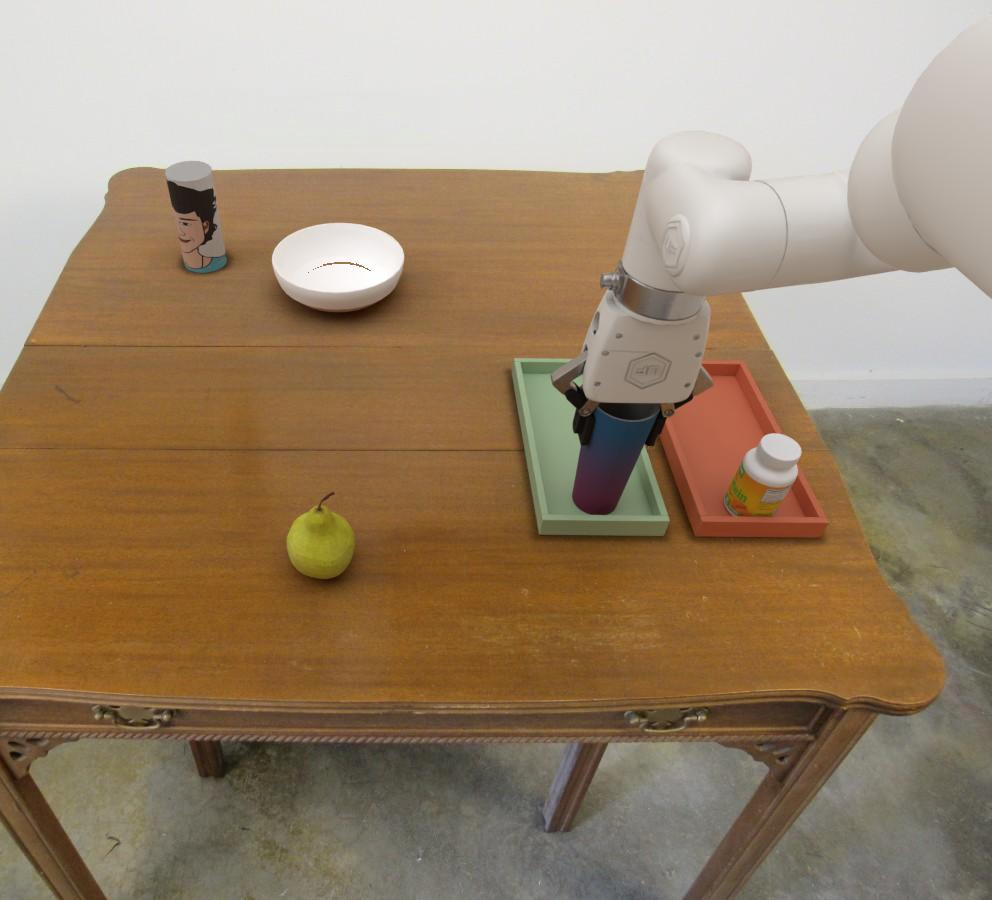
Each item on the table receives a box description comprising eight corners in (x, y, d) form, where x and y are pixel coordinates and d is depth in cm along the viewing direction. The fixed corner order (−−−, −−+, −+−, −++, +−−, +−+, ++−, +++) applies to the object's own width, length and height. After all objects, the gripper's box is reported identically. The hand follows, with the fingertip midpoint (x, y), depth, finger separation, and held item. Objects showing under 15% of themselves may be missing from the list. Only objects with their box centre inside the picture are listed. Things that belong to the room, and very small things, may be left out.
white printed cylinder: (186, 251, 121) (168, 161, 110) (228, 249, 121) (213, 160, 110) (181, 273, 116) (161, 181, 105) (225, 272, 116) (209, 180, 106)
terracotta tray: (819, 537, 80) (829, 522, 79) (694, 536, 80) (702, 521, 78) (737, 375, 100) (744, 360, 98) (637, 374, 100) (641, 359, 98)
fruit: (277, 578, 76) (264, 502, 67) (309, 530, 80) (300, 453, 72) (337, 601, 74) (331, 526, 66) (366, 551, 78) (364, 474, 70)
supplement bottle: (714, 491, 84) (744, 430, 77) (759, 487, 85) (793, 426, 78) (735, 528, 80) (768, 467, 74) (782, 524, 81) (819, 463, 74)
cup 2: (563, 474, 86) (588, 373, 75) (622, 480, 85) (656, 379, 75) (564, 518, 81) (592, 417, 70) (627, 525, 80) (665, 424, 70)
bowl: (374, 341, 104) (373, 305, 100) (252, 310, 109) (246, 274, 105) (421, 272, 117) (423, 237, 113) (310, 247, 122) (308, 212, 117)
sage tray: (663, 536, 80) (670, 521, 78) (538, 535, 80) (542, 519, 78) (611, 374, 100) (616, 358, 98) (511, 372, 100) (513, 357, 98)
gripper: (567, 310, 61) (535, 462, 74) (776, 313, 61) (707, 463, 74) (554, 262, 66) (525, 411, 79) (746, 264, 66) (687, 412, 79)
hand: (614, 435), depth 76 cm, fingers closed on cup 2, 6 cm apart
